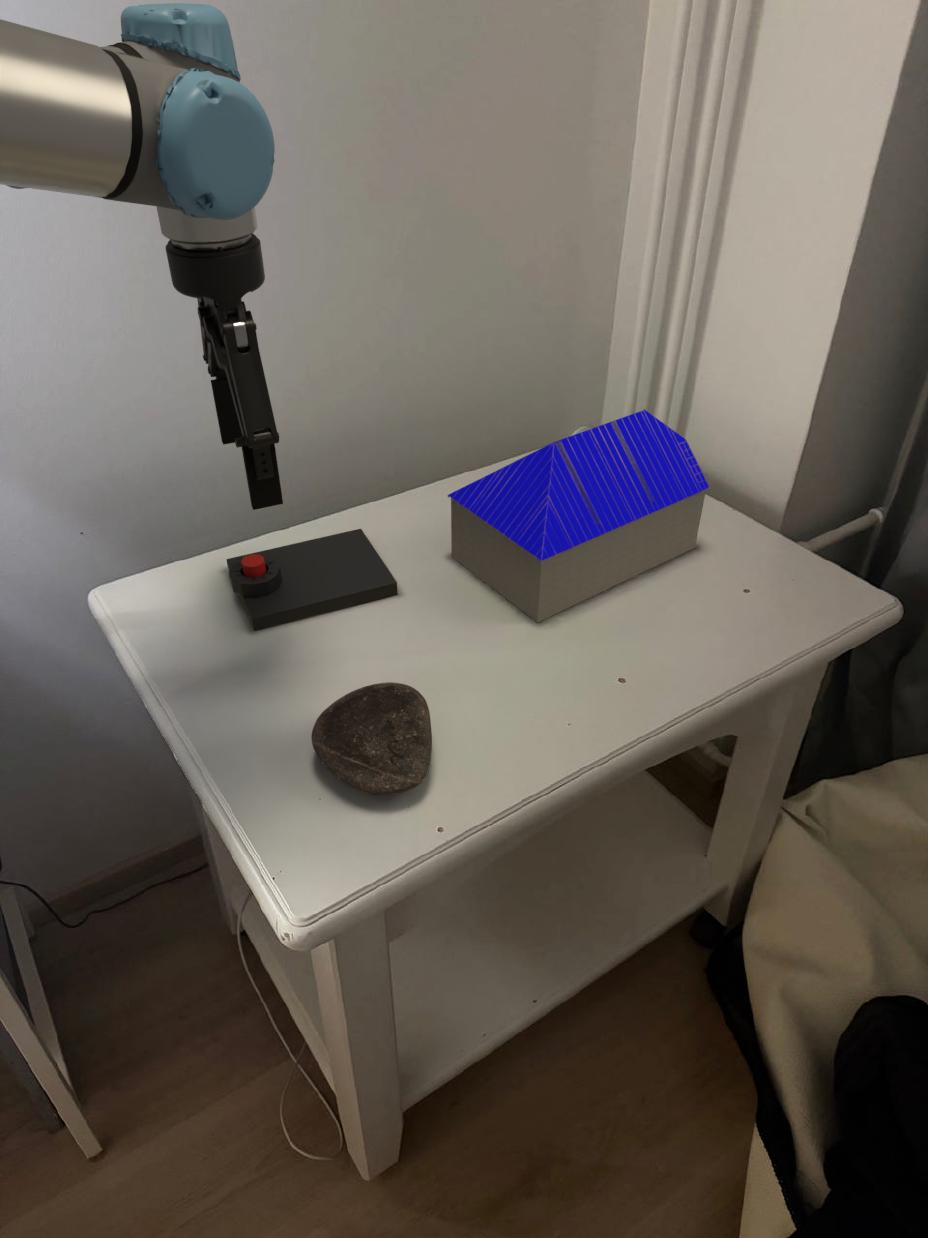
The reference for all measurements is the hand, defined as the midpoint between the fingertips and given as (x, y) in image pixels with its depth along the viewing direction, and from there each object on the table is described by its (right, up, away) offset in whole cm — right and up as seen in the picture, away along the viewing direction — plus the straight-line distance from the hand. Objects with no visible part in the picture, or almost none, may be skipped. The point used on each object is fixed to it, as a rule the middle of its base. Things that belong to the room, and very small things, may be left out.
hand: (250, 471), depth 85 cm
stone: (+13, -27, -6) cm, 30 cm away
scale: (+3, -10, +15) cm, 18 cm away
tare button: (-2, -9, +11) cm, 14 cm away
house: (+33, -6, +20) cm, 39 cm away
